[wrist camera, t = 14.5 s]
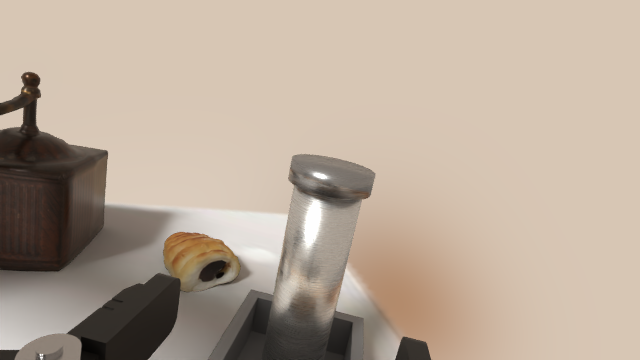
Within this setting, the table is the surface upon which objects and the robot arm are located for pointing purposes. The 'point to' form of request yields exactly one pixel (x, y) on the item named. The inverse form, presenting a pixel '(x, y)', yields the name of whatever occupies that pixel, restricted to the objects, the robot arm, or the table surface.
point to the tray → (251, 325)
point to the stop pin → (314, 254)
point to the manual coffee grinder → (46, 191)
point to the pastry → (199, 261)
